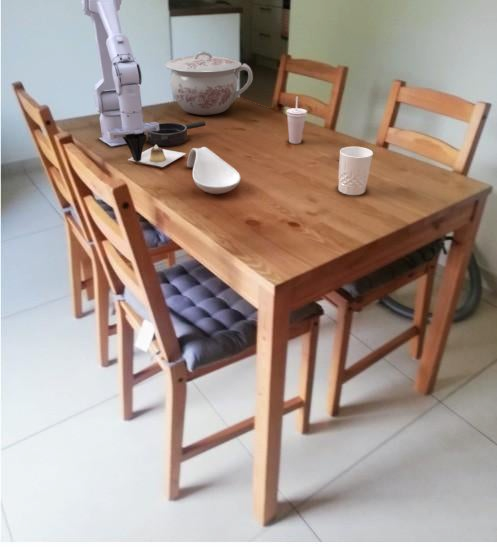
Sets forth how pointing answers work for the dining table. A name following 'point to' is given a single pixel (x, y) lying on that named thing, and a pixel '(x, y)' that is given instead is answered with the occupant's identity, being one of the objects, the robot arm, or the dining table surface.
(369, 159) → the white cup
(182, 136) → the pan
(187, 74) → the chamber pot
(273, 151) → the dining table surface
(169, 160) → the dessert
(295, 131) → the smoothie
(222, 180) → the spoon rest
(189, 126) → the pan handle
